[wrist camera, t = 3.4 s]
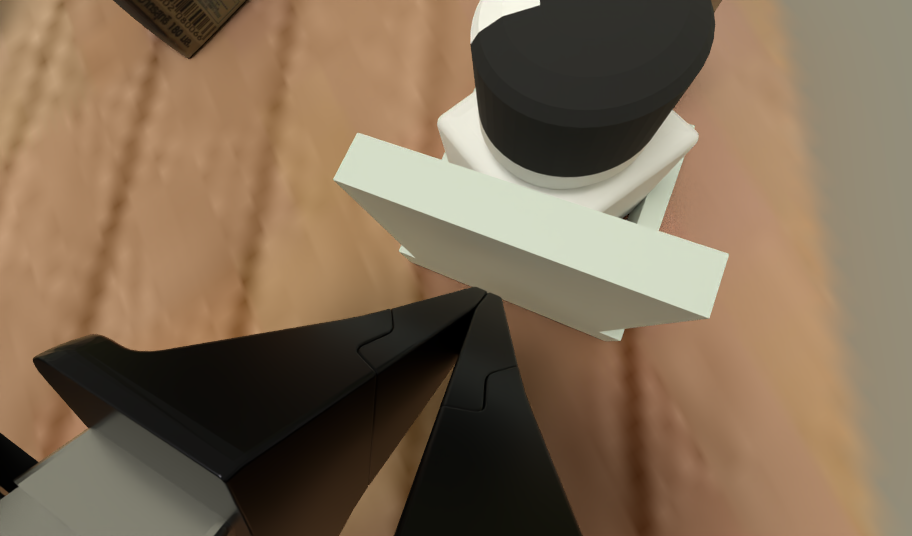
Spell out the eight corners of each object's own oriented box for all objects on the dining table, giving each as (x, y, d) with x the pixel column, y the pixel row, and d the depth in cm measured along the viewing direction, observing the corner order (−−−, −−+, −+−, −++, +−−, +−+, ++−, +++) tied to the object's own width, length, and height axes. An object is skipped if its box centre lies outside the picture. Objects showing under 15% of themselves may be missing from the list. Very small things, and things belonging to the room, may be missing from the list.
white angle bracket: (604, 341, 17) (761, 337, 7) (411, 261, 20) (303, 168, 9) (671, 151, 19) (881, -88, 8) (485, 100, 22) (466, -136, 11)
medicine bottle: (633, 211, 19) (843, -6, 7) (529, 286, 19) (571, 191, 7) (550, 125, 21) (610, -158, 9) (456, 193, 20) (393, -4, 9)
